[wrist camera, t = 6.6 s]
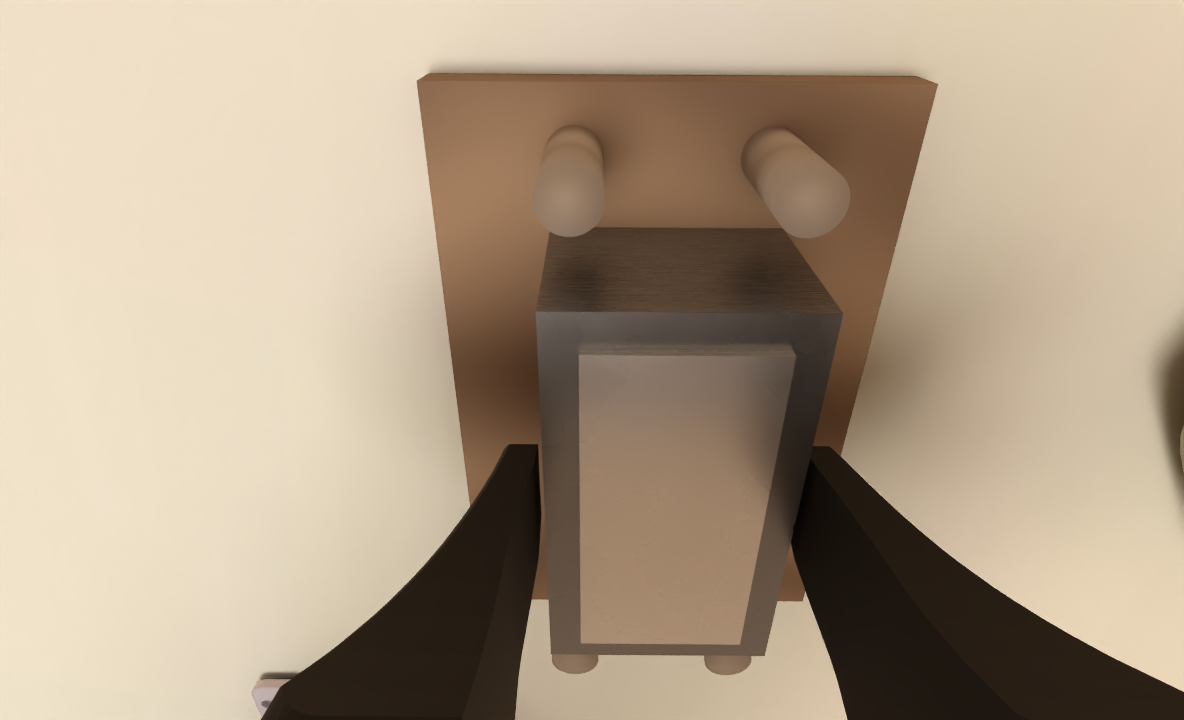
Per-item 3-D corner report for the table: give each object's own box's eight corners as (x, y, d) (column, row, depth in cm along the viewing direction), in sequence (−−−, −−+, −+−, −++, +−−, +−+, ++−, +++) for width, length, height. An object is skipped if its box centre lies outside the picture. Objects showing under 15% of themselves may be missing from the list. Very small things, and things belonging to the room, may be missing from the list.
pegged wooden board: (794, 575, 21) (832, 693, 18) (486, 573, 21) (465, 690, 18) (916, 76, 13) (1027, 114, 10) (428, 73, 13) (370, 110, 10)
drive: (733, 529, 19) (766, 663, 15) (559, 528, 19) (550, 662, 15) (783, 228, 14) (847, 319, 10) (550, 227, 14) (535, 317, 10)
